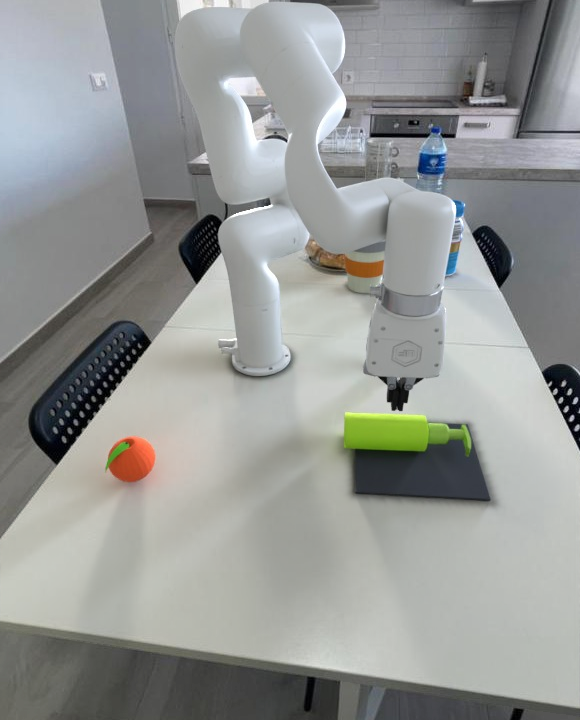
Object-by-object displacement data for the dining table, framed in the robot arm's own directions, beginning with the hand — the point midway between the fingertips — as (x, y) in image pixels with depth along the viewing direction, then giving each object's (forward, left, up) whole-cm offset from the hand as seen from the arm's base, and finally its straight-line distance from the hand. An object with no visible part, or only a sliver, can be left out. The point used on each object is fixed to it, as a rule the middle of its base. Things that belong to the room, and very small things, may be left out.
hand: (396, 404), depth 67 cm
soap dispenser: (-8, +2, -8) cm, 11 cm away
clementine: (-41, -7, -11) cm, 43 cm away
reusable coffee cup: (-3, +63, -11) cm, 64 cm away
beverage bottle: (+20, +74, -11) cm, 78 cm away
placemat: (+4, 0, -11) cm, 12 cm away
